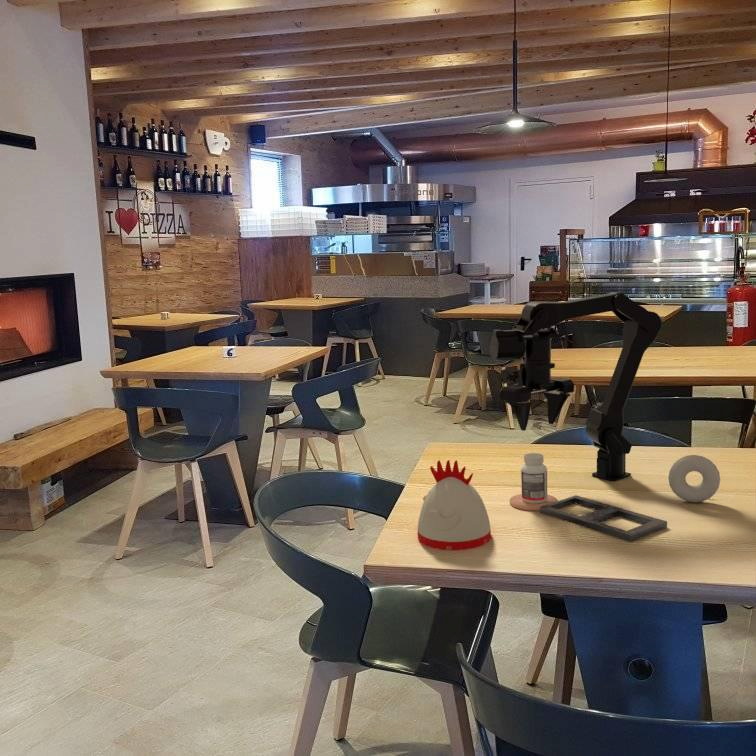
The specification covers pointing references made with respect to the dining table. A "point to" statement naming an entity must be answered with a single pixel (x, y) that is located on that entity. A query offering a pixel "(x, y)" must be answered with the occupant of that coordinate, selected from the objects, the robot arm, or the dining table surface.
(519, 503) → the coaster
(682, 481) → the donut
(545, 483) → the pill bottle
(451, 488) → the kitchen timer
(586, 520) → the dark grey flat frame
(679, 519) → the dining table surface
